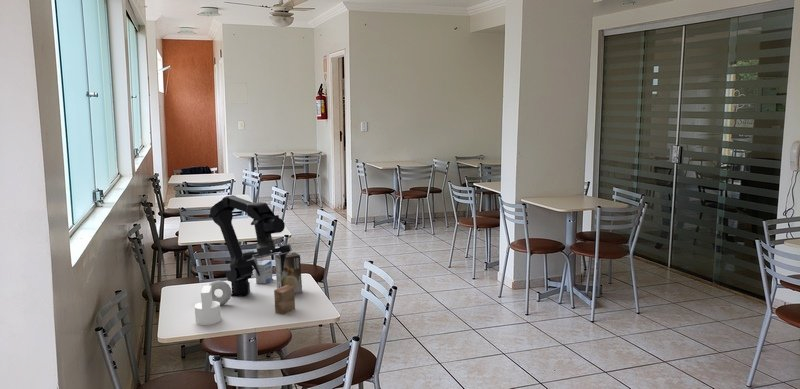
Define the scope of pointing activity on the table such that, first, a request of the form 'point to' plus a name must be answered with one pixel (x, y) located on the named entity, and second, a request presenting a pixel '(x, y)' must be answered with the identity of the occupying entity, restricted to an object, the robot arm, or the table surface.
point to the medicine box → (264, 272)
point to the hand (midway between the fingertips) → (271, 273)
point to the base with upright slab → (207, 308)
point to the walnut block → (284, 299)
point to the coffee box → (289, 272)
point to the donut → (224, 288)
